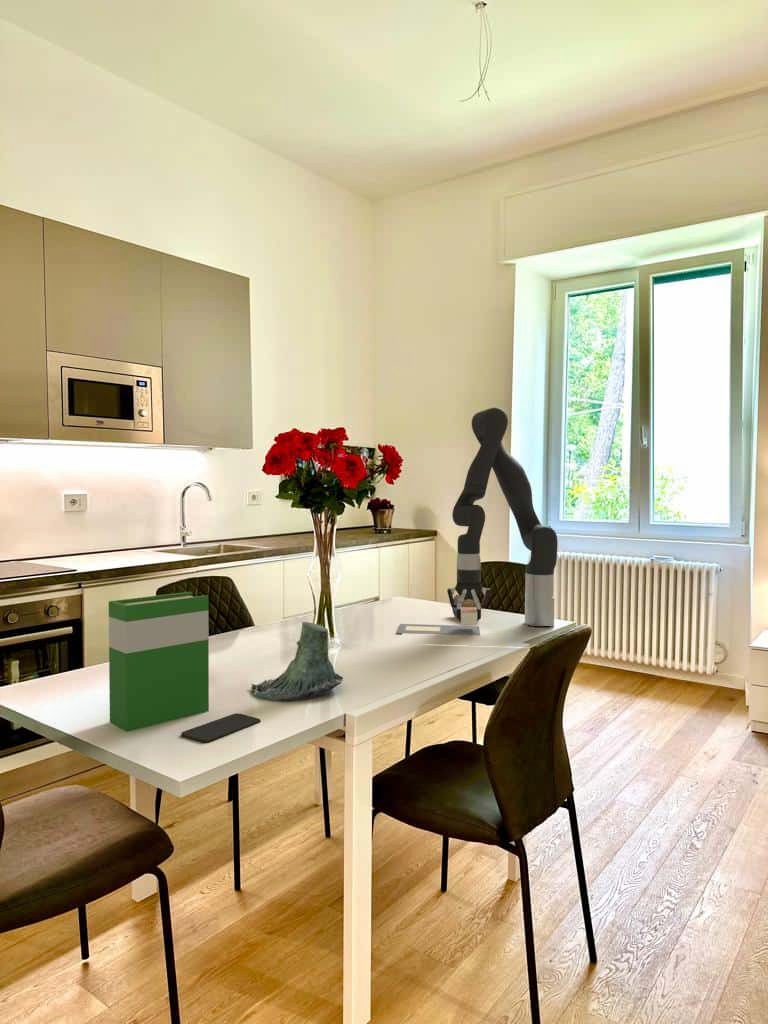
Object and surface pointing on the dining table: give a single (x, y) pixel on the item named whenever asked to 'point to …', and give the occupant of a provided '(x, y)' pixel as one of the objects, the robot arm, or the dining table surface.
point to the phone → (220, 728)
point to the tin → (463, 604)
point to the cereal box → (158, 659)
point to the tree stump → (303, 670)
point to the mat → (438, 629)
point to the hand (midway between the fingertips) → (468, 620)
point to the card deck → (468, 616)
